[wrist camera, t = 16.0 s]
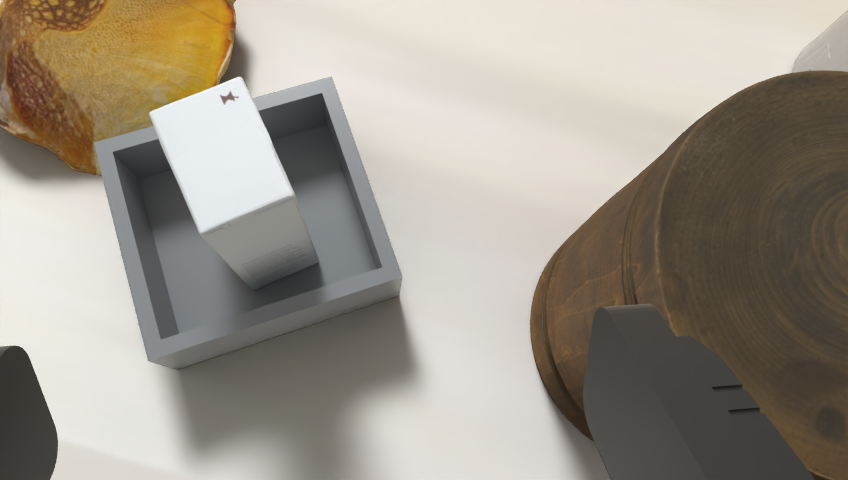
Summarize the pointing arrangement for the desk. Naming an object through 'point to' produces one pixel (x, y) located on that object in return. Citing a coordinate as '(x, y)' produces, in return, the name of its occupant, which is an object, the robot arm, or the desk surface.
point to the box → (210, 275)
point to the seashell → (104, 66)
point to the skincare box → (235, 183)
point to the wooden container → (728, 260)
